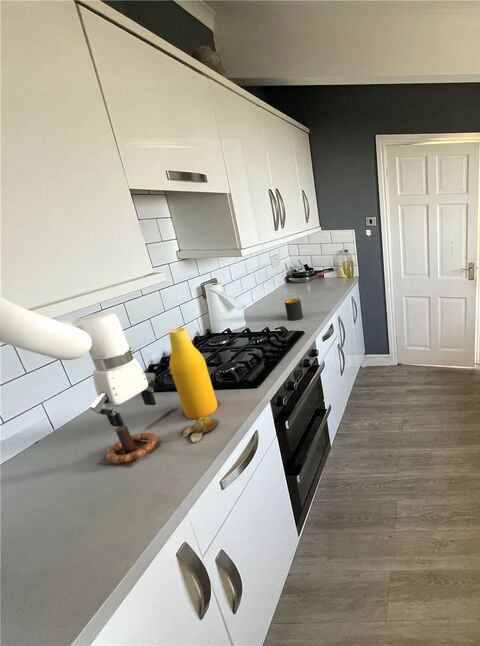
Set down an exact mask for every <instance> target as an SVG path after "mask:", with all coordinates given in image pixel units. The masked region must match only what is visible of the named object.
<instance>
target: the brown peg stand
mask: <svg viewBox="0 0 480 646" xmlns="http://www.w3.org/2000/svg"><path fill="white" fill-rule="evenodd" d="M114 431H115V433H116V436H117V438H118V441H120V443H121V445H122V447H123V448H121V449H120V450H118V451H117V453H116V455H125V454H129V453H132V452H134V451H136V450H139V449H140V448H142V447H143V446H144V445H146V444H147V442H148V441H147V440H141V441H136V442H133V440H132V438H131V432H130V430H129V427H128V426H127V425H124V426H122V427H117V428H115V430H114ZM160 447H161V444H160V442H159V441H157V443H156V444H155V446H154V448H153V449H151V450H150V451H149V452H148V453H146V454H145V455H147V454H153V453H154V452H155V451H156V450H158V449H159V448H160ZM145 455H143V456H141V457H139V458H137V459H135V460H133V461H129V462H125V463H120V464H117V463H109V462H108V461H107V460H106V458H105V459H104V460H103V461H101V462H100V464H101V465H109V466H111V465H113V466H121V467H123V466H124V467H132V466H133V465H134V464H135V463H136V462H138V461H139V460H141V459H142V458H143V457H144V456H145Z"/></svg>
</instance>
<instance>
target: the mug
mask: <svg viewBox="0 0 480 646" xmlns="http://www.w3.org/2000/svg"><path fill="white" fill-rule="evenodd" d="M284 306H285V310H286V317H287V320H288V321H290V322H291V321H292V322H293V321H299V320H302V319H303V318H304V313H303V308H302V304H301V299H300V298H290V299H287V300H285V301H284Z"/></svg>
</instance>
